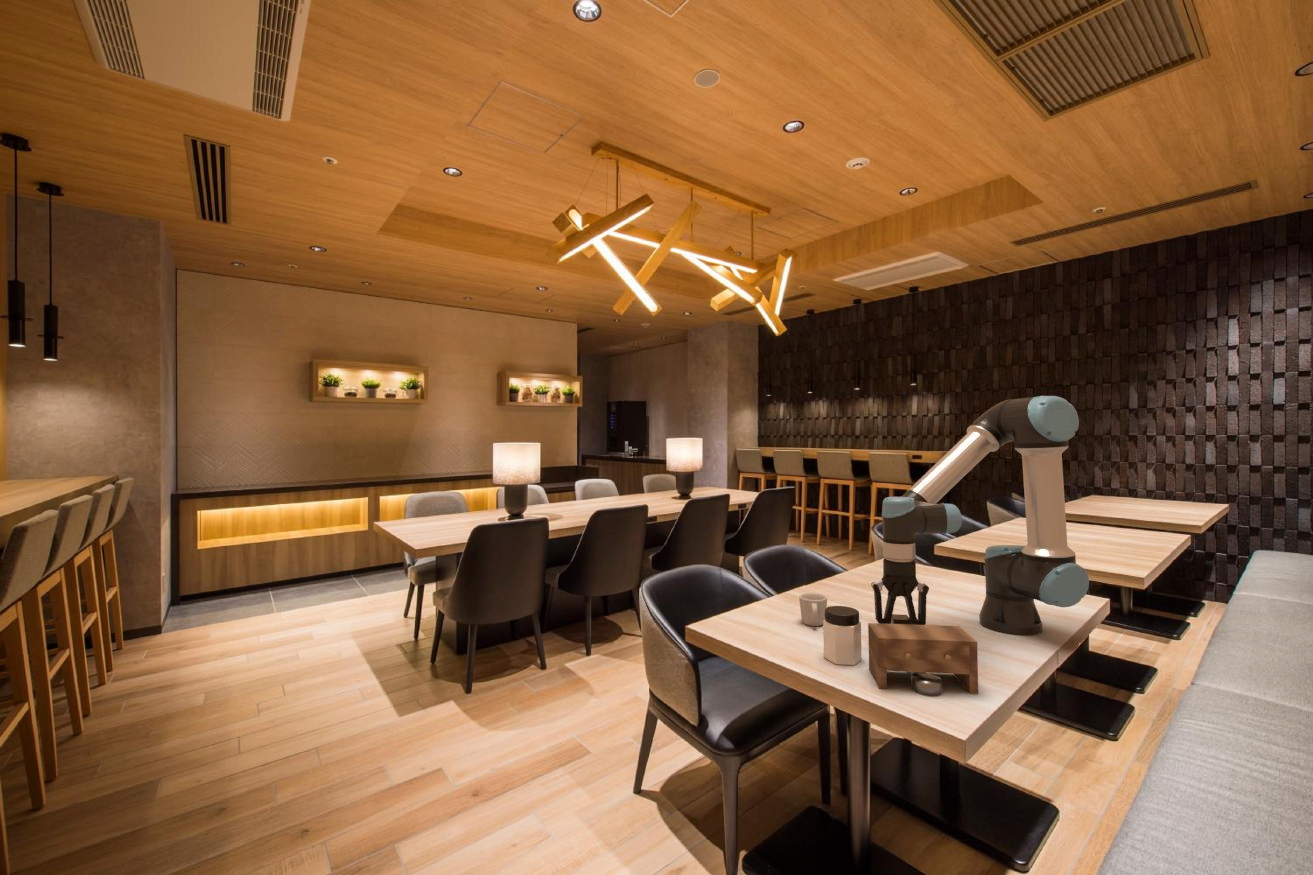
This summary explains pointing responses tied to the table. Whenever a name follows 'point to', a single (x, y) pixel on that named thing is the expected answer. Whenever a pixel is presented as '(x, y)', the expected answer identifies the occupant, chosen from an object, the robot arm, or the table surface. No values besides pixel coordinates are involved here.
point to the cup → (813, 608)
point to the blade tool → (902, 620)
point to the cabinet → (922, 652)
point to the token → (926, 684)
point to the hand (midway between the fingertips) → (900, 651)
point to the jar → (842, 635)
